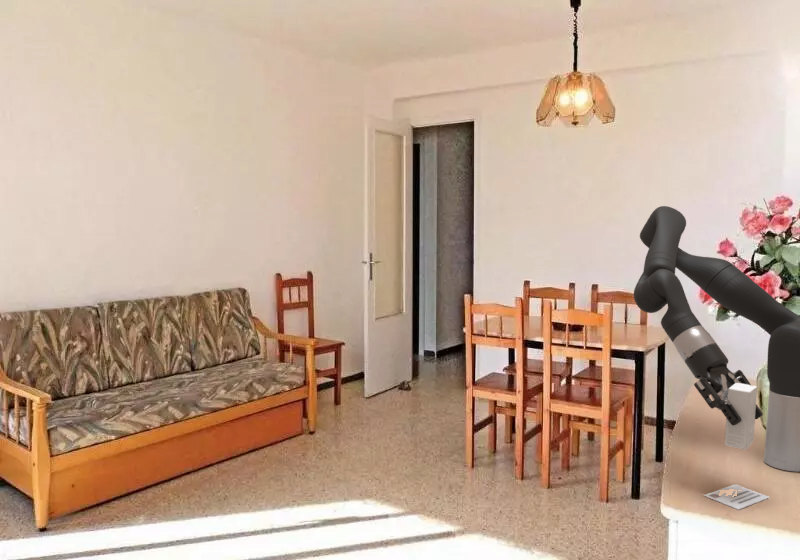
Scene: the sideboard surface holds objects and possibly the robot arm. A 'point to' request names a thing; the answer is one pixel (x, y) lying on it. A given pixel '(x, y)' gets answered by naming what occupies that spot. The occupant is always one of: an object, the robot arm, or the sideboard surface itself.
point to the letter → (737, 497)
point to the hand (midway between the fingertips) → (748, 420)
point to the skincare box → (741, 416)
